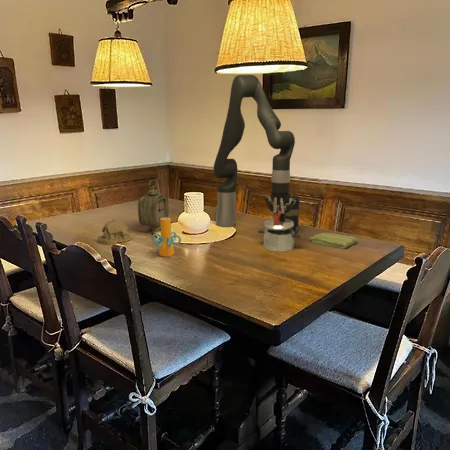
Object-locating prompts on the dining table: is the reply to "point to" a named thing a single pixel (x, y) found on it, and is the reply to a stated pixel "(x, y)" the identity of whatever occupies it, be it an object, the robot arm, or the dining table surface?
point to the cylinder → (166, 238)
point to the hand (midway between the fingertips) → (279, 221)
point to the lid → (278, 223)
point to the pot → (279, 239)
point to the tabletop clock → (152, 208)
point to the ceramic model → (114, 232)
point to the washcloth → (334, 240)
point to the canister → (293, 212)
